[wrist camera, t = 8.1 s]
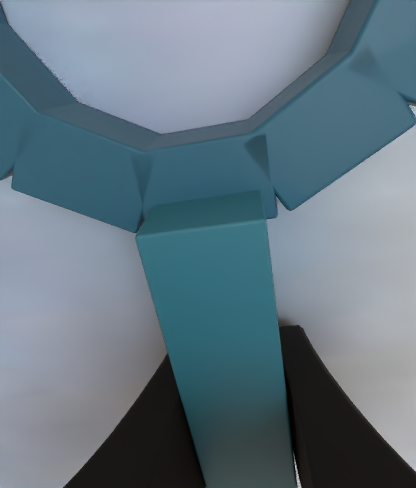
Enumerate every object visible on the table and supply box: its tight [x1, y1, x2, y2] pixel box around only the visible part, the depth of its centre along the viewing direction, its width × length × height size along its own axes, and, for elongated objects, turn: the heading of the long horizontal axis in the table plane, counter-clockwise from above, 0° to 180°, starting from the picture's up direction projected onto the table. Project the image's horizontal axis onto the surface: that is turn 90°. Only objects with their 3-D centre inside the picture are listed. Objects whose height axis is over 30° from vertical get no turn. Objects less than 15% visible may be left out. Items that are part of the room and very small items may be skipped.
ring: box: [0, 0, 416, 488], centre depth 6 cm, size 17×10×3 cm, turn 10°
